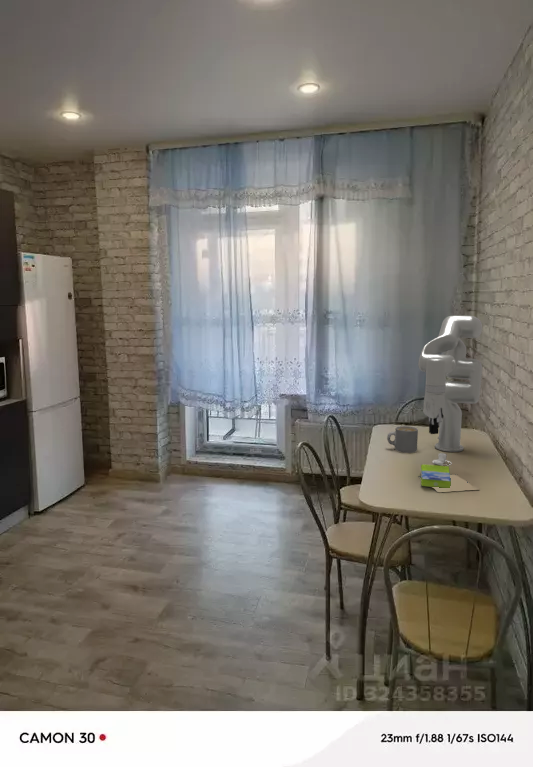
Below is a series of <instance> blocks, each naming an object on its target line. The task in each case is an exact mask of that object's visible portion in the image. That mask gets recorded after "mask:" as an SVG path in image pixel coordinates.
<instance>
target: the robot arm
mask: <svg viewBox="0 0 533 767" xmlns="http://www.w3.org/2000/svg"><path fill="white" fill-rule="evenodd" d="M482 332H483V323H482V321H481V319H480V318H478V317H476V316H474V315H449V316H446V317H444V319H443V321H442V323H441V327H440V330H439V333H438V336H437V337H435V338H433V339H432V340H429V342H427V343H426V344H425V345H424V346H423V348H422V349H421V352H420V355H419V356H418V357H419V358H418V363H417V364H418V368H419V371H421V372H423V373H425V388H424V389H425V391H424V398H423V408H422V410H423V412H422V413H423V414H424V415H425V416H427V417H428V423H429V424H428V425H429V428H428V433H429V434H430V435H438V436H437V439H438V442H437V443H435V444H434V448H435V449H436V450H439V451H443V452H450V453H457V452H458V453H459V452H463V450H464V448H465V447H464V445H462V444H461V438H462V437H461V433H462V418H463V417H462V415H463V411H462V409H461V407H460V406H459V403H460V404H477V403H478V402H479V401H480V397H481V388H482V387H481V386H482V376H483V365H482V362H481V361H480V359H477V358H467V346H466V344H465V343H464V341H463V340H462V339H461V338H463V339H467V338H468V339H477V338H480V336H481V334H482ZM442 353H445V354H442ZM447 378H449V379H457V380H468V381H470V382H468V381H456V380H447Z"/></svg>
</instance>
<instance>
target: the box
mask: <svg viewBox="0 0 533 767" xmlns="http://www.w3.org/2000/svg"><path fill="white" fill-rule="evenodd" d="M450 475H451V473H450V465H447V466H443V465H437V464H421V465H420V476H421V479H420V485H421V486H422V487H429V488H431V487H439V488H450V486H451V478H450Z"/></svg>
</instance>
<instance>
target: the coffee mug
mask: <svg viewBox="0 0 533 767" xmlns="http://www.w3.org/2000/svg"><path fill="white" fill-rule="evenodd" d="M418 430H419V429H418V427H415V426H411V425H409V426H408V425H399V426H395V430H394V431H389V432H388V434H387V438H386V439H387V442H388V444H390V445H393V446H394V450H395V451H397V452H399V453H404V454H405V453H407V454H409V453H410V454H411V453H412V454H413V453H417V451H418V437H419V436H418V435H419V431H418ZM392 436H394V440H391V437H392Z"/></svg>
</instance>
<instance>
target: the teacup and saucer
mask: <svg viewBox="0 0 533 767" xmlns="http://www.w3.org/2000/svg"><path fill="white" fill-rule="evenodd" d="M437 457H438V458H437V459H433V460H432V464H433V465H439V466H443V465H444V464H445V463H446V461H447V463H448V464H449V462H450V463H451V464H449V465H448V466H450V465H452V464H453V463H452V462H451V461H450V460H447V454H446V453H438V456H437Z"/></svg>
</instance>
